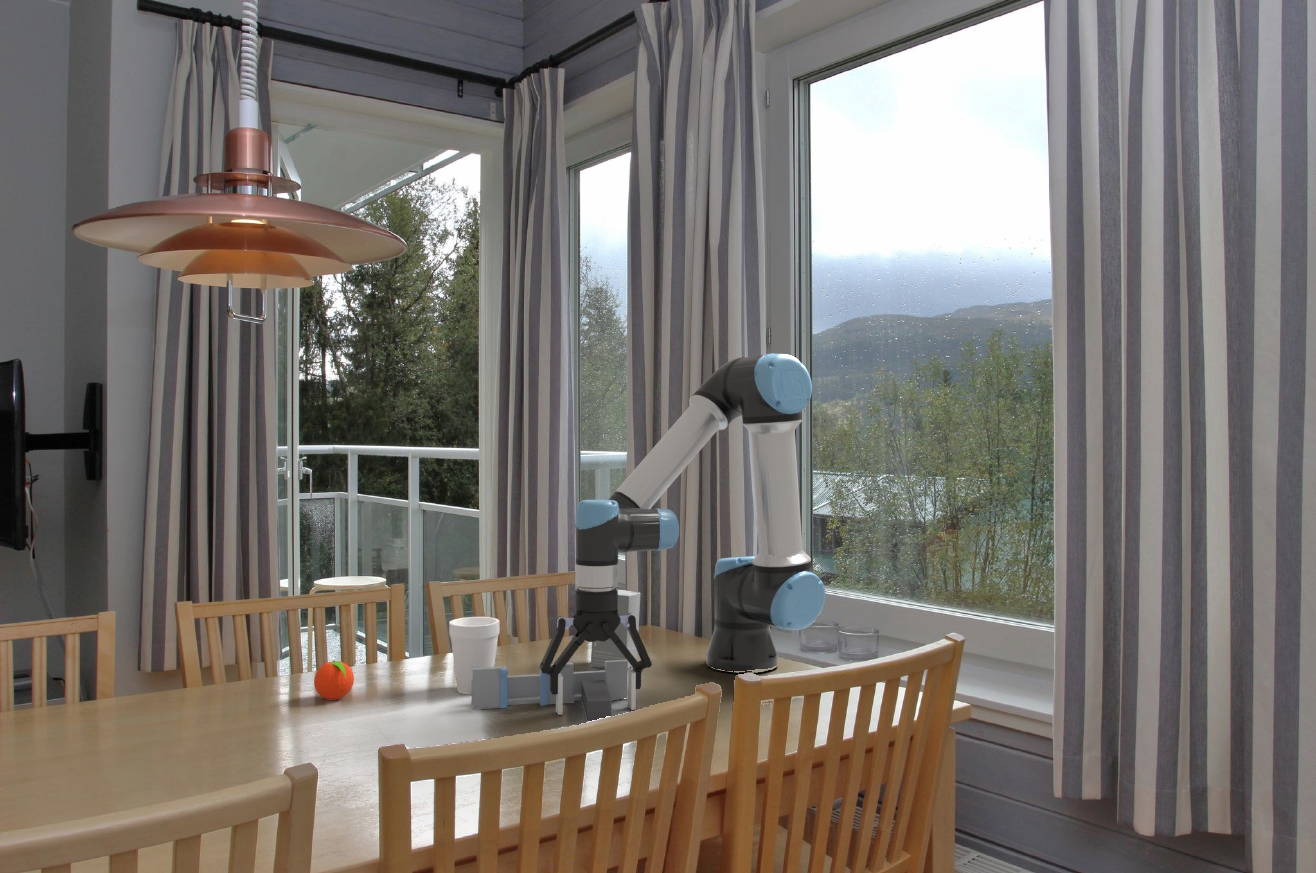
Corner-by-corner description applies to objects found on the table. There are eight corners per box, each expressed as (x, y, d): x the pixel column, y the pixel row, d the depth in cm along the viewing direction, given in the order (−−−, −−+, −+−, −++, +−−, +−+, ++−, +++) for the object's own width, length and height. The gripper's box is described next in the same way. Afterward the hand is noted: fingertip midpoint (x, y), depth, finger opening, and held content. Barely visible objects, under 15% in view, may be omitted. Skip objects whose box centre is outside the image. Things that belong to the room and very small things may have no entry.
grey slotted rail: (622, 693, 177) (622, 655, 177) (628, 700, 172) (629, 662, 172) (471, 702, 170) (471, 664, 170) (473, 711, 165) (473, 671, 165)
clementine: (364, 700, 171) (364, 661, 171) (328, 708, 166) (328, 667, 166) (342, 691, 177) (342, 654, 177) (307, 699, 172) (307, 660, 172)
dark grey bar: (603, 701, 172) (603, 679, 172) (611, 723, 159) (611, 700, 159) (581, 702, 172) (581, 680, 172) (587, 724, 158) (587, 701, 158)
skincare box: (590, 667, 196) (590, 592, 196) (604, 660, 203) (605, 587, 203) (627, 671, 193) (627, 594, 193) (640, 664, 200) (641, 589, 200)
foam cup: (487, 697, 173) (487, 627, 173) (440, 694, 175) (441, 625, 175) (506, 684, 183) (506, 617, 182) (461, 681, 184) (461, 615, 184)
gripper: (658, 582, 172) (657, 699, 172) (524, 586, 166) (523, 708, 166) (669, 588, 165) (668, 711, 165) (529, 593, 159) (528, 720, 159)
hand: (595, 710), depth 165 cm, fingers open, 12 cm apart
